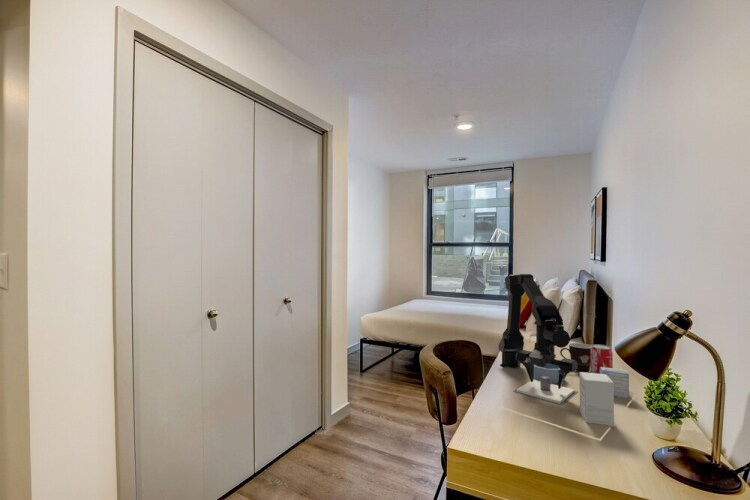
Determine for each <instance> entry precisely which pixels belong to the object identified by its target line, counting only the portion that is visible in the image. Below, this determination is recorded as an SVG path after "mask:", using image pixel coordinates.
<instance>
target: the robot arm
mask: <svg viewBox="0 0 750 500" xmlns="http://www.w3.org/2000/svg"><path fill="white" fill-rule="evenodd" d="M504 285H505V289H506V291H507V294H508V298H509V299H508V309H507V326H506V329H505V330H504V331H503V332H502V336H501V337H502V338H501V340H500V341H499V343H498V351H500V352H501V363H500V364H499V366H501V367H504V368H511V369H516V368H518V367H521V366H522V365H523V366H524V368H525V370H526V372H527V375H528V377H529V382H530V381H531V382H533V379H534V365H537V366H540V367H544V366H545V365H546V364H547V363H548V364H553V365H557V366H559V368H560V370H558V373H559V380H558V383H557V385H558V389H561V386H562V387H563V383H564V382H565V379H566V378H567V375H568V374H570V373H573V372H575V370H576V369H577V362H576V361H575V360H572V359H571V358H568V357H565V358H562V359H557V357H556V356H557V355H556V353H555V347H557V348H560V349H563V348H567V346H568V345H569V344H570V341H571V336H570V334H569V333H568V332H567V330H565V327H564V322H563V321H564V320H563V316H562V315H561V313H560V311H559V309H558V306H557V305H556V304H555V303H554V302H553V301H552V300H551V299H550V298H547V297H545V294H543V292H542V291H541V289H540V288H539V286H538V284H537V282H536V281H535V280H534V275H533V274H531V273H519V274H508V275H507V276H506V277H505V278H504ZM525 294H526V296H527V297H528V300H529V301H530V304H531V305H532V307H531V314H532V317H533V318H534V322H533V324H534V325H535V328H536V330H535V331H536V333H535V336H536V338H535V339H536V341H535V343H534V348H533V349H532V350H526V349H524V348H525V347H524V346H525V342H524V339H525V338H524V335H523V334H522V332H521V331H520V330H521V329H520V326H521V314H522V313H521V311H522V309H521V308H522V297H523V296H524V295H525ZM534 380H535V379H534Z"/></svg>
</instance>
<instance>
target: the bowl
mask: <svg viewBox="0 0 750 500" xmlns="http://www.w3.org/2000/svg"><path fill="white" fill-rule="evenodd" d="M558 370H560V368H559V366H557V365H553V364H548V363H547V364H546V365H545V366H544V367H540V366H537V365H534V380H538V381H540V377H541V376H546V377H549V378H551V384H558V380H559V373H558Z"/></svg>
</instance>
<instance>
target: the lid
mask: <svg viewBox="0 0 750 500" xmlns="http://www.w3.org/2000/svg"><path fill="white" fill-rule="evenodd" d="M516 389H517V392H520V393H523V394H527V395H530V396H534V397H538V398H541V399H545V400H548V401H552V402H555V403H559V404H560V403H561V402H562V401H564V400H565V399H566V398H567V397H569V396H570V395H571V394H572V393H574V391H575V389H573V388H569V387H565V386H563V385H562V386H561V389H558V384H555V383H551V378H549V377H546V376H541V377H540V381H539V380H536V379H533V382H531V381H530V380H529V381H528V382H527V383H526V382H525V385H524V384H522V385H521V386H520V388H519V387H518V388H516Z"/></svg>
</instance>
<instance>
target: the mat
mask: <svg viewBox="0 0 750 500" xmlns="http://www.w3.org/2000/svg"><path fill="white" fill-rule="evenodd" d="M525 384H526V383H525ZM525 384H523V385H525ZM520 387H521V386H520ZM520 387H518V388H520ZM518 388H516V389H515V390H513V391H512V392H513V393H516V394H519V395H523V396H526V397H530V398H534V399H536V400H540V401H543V402H547V403H551V404H554V405H557V406H560V407H562V406H563V405H565V404H566V403H567V402H568V401H570V400H571V399H572V398H573V397H575V396H576V395H577V394H578V393H579V391H577V390H574V393H572V394H571V395H570V396H569V397H567V398H566V399H565V400H564V401H562V402H561V403H560V404H559V403H555V402H552V401H548V400H545V399H541V398H538V397H534V396H530V395H527V394H523V393H520V392H517V389H518Z"/></svg>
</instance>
